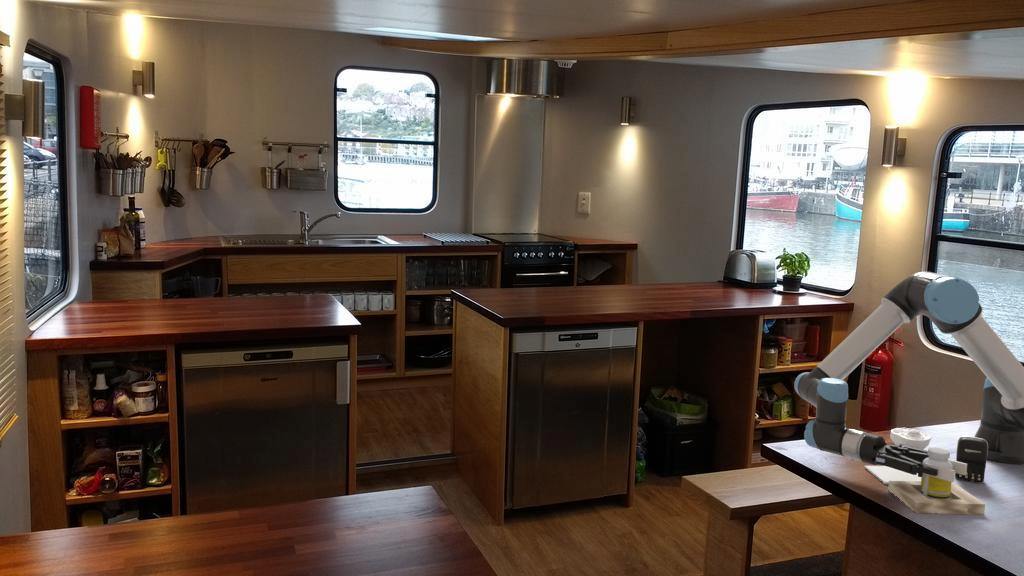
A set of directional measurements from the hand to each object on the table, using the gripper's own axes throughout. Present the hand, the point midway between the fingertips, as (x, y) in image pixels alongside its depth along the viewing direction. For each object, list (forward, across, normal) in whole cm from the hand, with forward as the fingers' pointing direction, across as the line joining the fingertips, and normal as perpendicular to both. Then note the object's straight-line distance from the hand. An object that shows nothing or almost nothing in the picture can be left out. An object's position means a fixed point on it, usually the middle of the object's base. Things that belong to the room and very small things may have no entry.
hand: (959, 472), depth 190 cm
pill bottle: (-5, 0, -8) cm, 9 cm away
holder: (-5, 0, -9) cm, 10 cm away
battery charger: (-6, -23, -9) cm, 25 cm away
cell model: (-27, -35, -9) cm, 45 cm away
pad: (-18, -11, -9) cm, 23 cm away
